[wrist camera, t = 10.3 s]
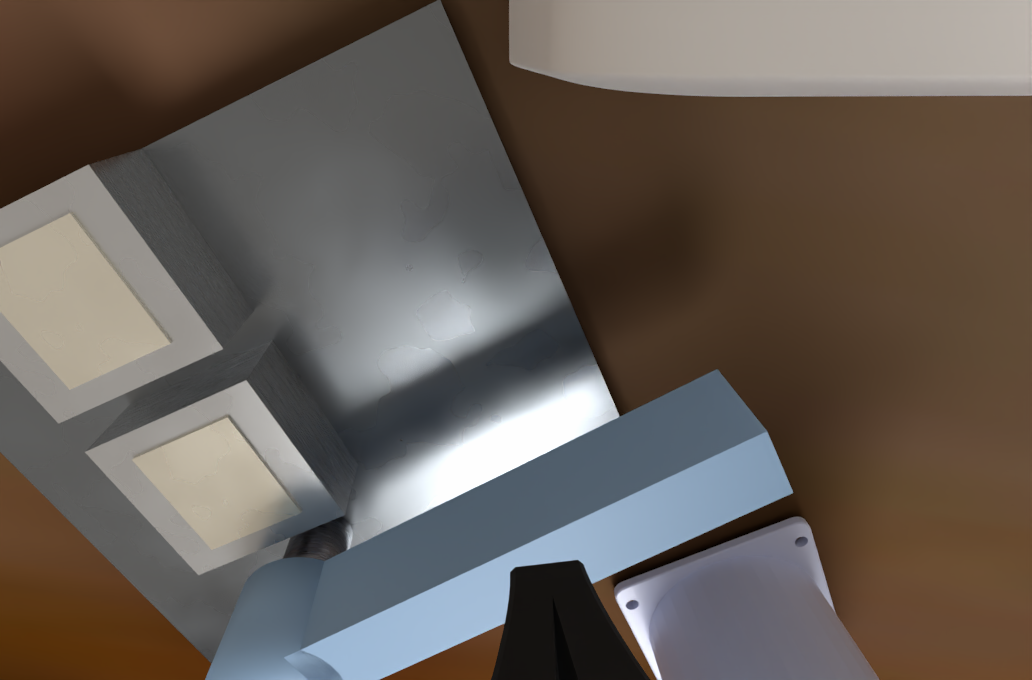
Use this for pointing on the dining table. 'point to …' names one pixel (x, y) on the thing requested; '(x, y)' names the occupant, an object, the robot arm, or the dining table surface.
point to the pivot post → (321, 541)
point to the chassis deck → (353, 302)
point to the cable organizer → (779, 46)
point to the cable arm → (507, 541)
